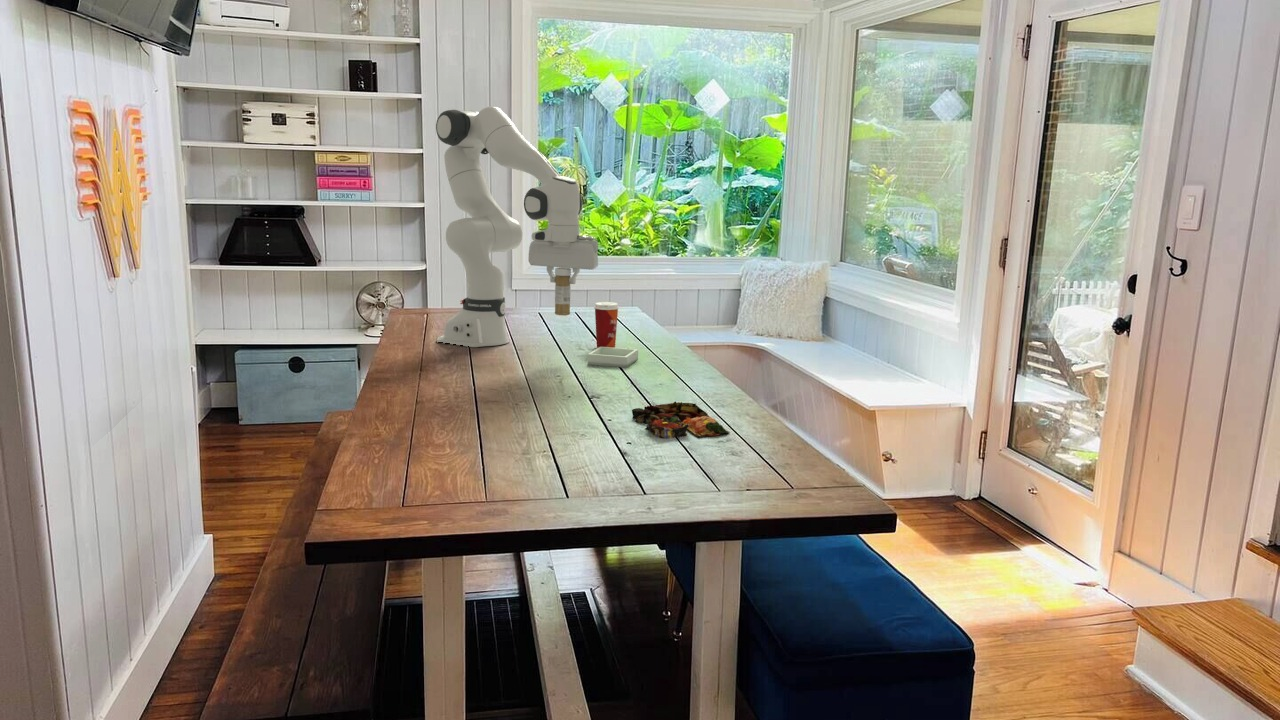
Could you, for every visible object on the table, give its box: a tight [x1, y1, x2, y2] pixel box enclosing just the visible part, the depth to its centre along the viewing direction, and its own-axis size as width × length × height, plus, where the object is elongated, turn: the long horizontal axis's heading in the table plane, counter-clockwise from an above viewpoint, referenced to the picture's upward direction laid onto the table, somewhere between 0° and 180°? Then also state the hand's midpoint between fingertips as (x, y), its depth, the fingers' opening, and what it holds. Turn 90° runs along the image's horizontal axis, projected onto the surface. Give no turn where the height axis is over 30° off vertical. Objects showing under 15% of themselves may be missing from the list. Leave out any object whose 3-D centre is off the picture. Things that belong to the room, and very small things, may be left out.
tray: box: [587, 347, 639, 368], centre depth 266 cm, size 12×12×3 cm
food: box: [631, 401, 731, 440], centre depth 205 cm, size 22×19×4 cm
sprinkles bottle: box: [554, 267, 572, 316], centre depth 266 cm, size 5×5×14 cm
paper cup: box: [593, 301, 620, 349], centre depth 284 cm, size 8×8×14 cm
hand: (562, 283), depth 265 cm, fingers closed on sprinkles bottle, 4 cm apart
